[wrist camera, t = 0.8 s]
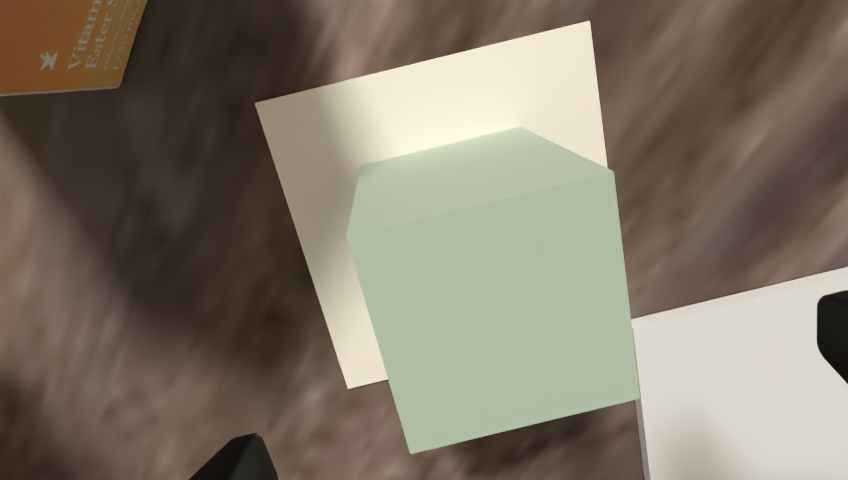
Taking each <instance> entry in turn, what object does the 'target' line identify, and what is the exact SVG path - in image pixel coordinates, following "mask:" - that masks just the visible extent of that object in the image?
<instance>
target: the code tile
mask: <svg viewBox="0 0 848 480" xmlns="http://www.w3.org/2000/svg"><path fill="white" fill-rule="evenodd" d="M255 106H256V109H257V112H258V115H259V118H260V121H261V124H262V127H263V130H264V133H265V137H266V140H267V143H268V146H269V149H270V152H271V155H272V158H273V161H274V164H275V167H276V170H277V173H278V176H279V179H280V182H281V185H282V189H283V192H284V195H285V198H286V201H287V204H288V207H289V210H290V213H291V216H292V219H293V222H294V225H295V228H296V231H297V234H298V237H299V241H300V244H301V247H302V250H303V253H304V256H305V259H306V262H307V265H308V268H309V271H310V274H311V277H312V280H313V283H314V286H315V290H316V293H317V296H318V299H319V302H320V305H321V308H322V311H323V314H324V317H325V320H326V323H327V326H328V329H329V332H330V335H331V338H332V342H333V345H334V348H335V351H336V354H337V357H338V360H339V363H340V366H341V369H342V372H343V375H344V378H345V381H346V384H347V387H348V389H350V388H354V387H358V386H362V385H367V384H371V383H375V382H379V381H383V380H387V379H388V377H387V373H386V370H385V367H384V363H383V360H382V356H381V353H380V350H379V346H378V343H377V340H376V336H375V333H374V329H373V326H372V323H371V319H370V316H369V312H368V309H367V306H366V302H365V299H364V296H363V292H362V289H361V285H360V282H359V279H358V275H357V272H356V269H355V265H354V262H353V258H352V255H351V252H350V248H349V245H348V241H347V238H346V235H347V230H348V225H349V220H350V216H351V211H352V206H353V201H354V196H355V192H356V187H357V182H358V177H359V172H360V168H361V166H362V165H366V164H370V163H374V162H378V161H382V160H386V159H390V158H394V157H399V156H403V155H407V154H411V153H415V152H419V151H423V150H427V149H431V148H435V147H439V146H443V145H448V144H452V143H456V142H460V141H464V140H468V139H472V138H476V137H480V136H484V135H488V134H493V133H497V132H501V131H505V130H509V129H513V128H517V127H522V128H524V129H526V130H528V131H531V132H533V133H535V134H537V135H539V136H541V137H543V138H545V139H547V140H549V141H551V142H553V143H556V144H558V145H560V146H562V147H564V148H566V149H568V150H570V151H572V152H574V153H576V154H578V155H581V156H583V157H585V158H587V159H589V160H591V161H593V162H595V163H597V164H599V165H601V166H603V167H605V168H607V160H606V151H605V143H604V135H603V126H602V118H601V110H600V101H599V93H598V85H597V77H596V68H595V60H594V52H593V43H592V35H591V27H590V21H586V22H582V23H578V24H574V25H570V26H566V27H562V28H558V29H554V30H550V31H546V32H542V33H538V34H534V35H529V36H525V37H521V38H517V39H513V40H509V41H505V42H501V43H497V44H493V45H489V46H485V47H481V48H477V49H472V50H468V51H464V52H460V53H456V54H452V55H448V56H444V57H440V58H436V59H432V60H428V61H424V62H419V63H415V64H411V65H407V66H403V67H399V68H395V69H391V70H387V71H383V72H379V73H375V74H371V75H367V76H362V77H358V78H354V79H350V80H346V81H342V82H338V83H334V84H330V85H326V86H322V87H318V88H314V89H310V90H305V91H301V92H297V93H293V94H289V95H285V96H281V97H277V98H273V99H269V100H265V101H261V102H257V103H255Z"/></svg>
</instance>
